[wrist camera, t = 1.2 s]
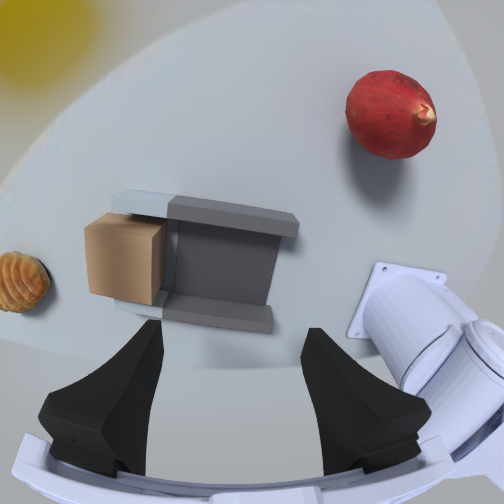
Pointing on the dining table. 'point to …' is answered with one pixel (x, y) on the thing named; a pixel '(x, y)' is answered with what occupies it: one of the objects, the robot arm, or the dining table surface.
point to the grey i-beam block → (214, 260)
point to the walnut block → (126, 257)
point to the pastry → (21, 282)
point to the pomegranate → (391, 114)
